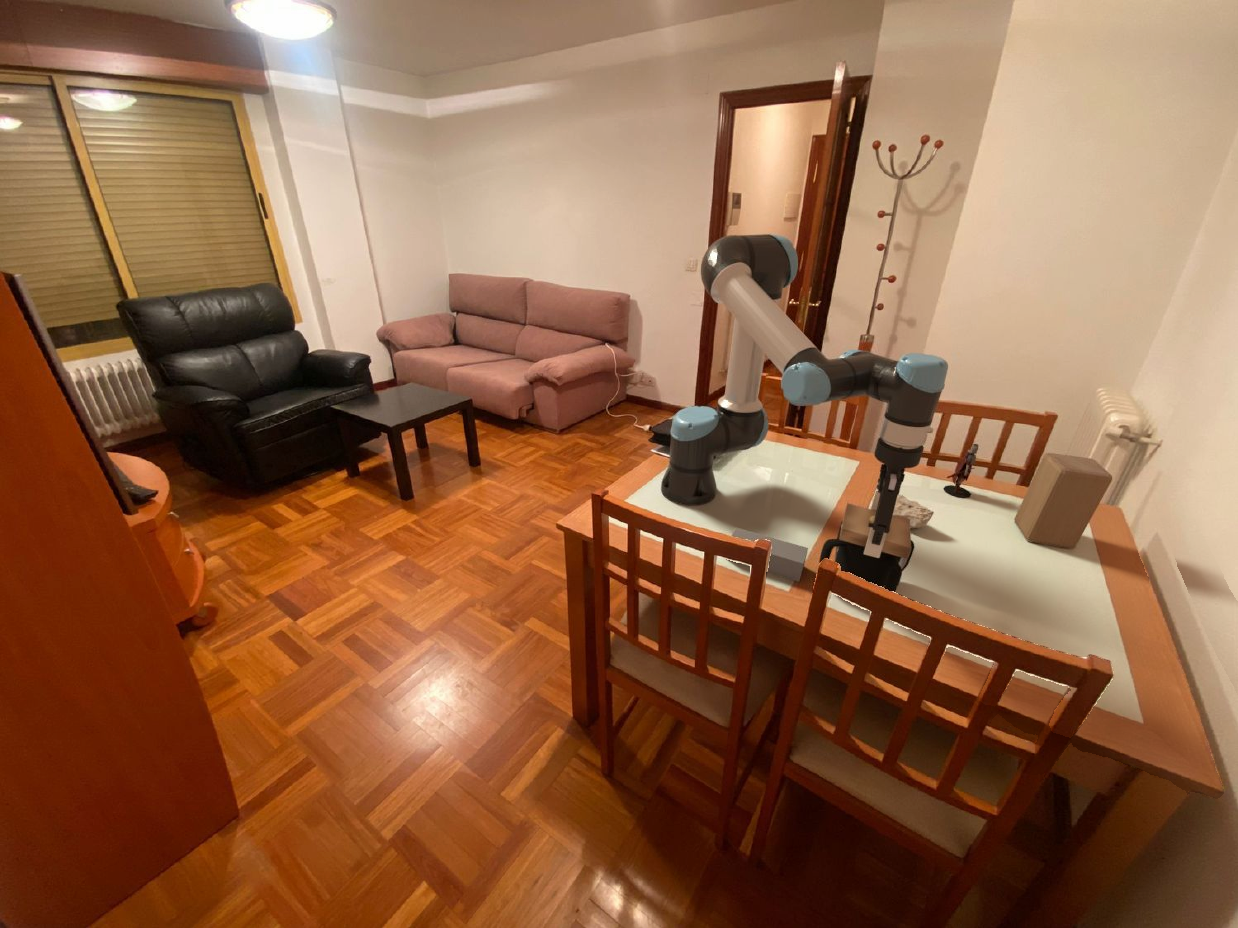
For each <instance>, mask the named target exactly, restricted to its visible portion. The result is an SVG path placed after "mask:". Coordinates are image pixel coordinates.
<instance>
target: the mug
mask: <svg viewBox="0 0 1238 928" xmlns="http://www.w3.org/2000/svg"><path fill="white" fill-rule="evenodd" d="M842 523H843V520H841V523H840V526H839V529H838V533H837V538H836V537H835V538H830V539H827V540H825V542H824V543H823V545H822V548H821V552H820V556H819V561H818V564H819V563H820V562H821V561H822V560H823V559H824V558H828V559H829V560H830V558H831V555H832V551H833V550H834V548H835V555H834V563H835V562H837V563H839V564H840V566H841V571H845V572H850V573H852V574H854V575H856V576H858V577H861V578H863V579H865V580H866V581H868V582H872V583H874V584H877V585H878V586H882V587H883V589H884V588H885V589H888V590H889V591H894V592H895V593H896V591H897V589H898V586H899V584H900V581H901V578H902V575H903V571H904V570H905V569H906V568H907V567H908V565H909V564H910V561H911V558H912V556H913V553H914V550H915V543H914V541H913V540H912V539H911V550H910V553H909V555H908V558H907V559H906V558H902V557H899V556H895V555H892V554H888V553H885V552H881V554H880V557H879V558H876V557H873V556H869V555H865V554H864V550H865V547H864V546H860V545H857V544H853V543H850V542H846V541H843V540H839V538H840V533H841V528H842Z"/></svg>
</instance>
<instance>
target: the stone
mask: <svg viewBox="0 0 1238 928" xmlns="http://www.w3.org/2000/svg"><path fill="white" fill-rule="evenodd" d="M873 499H874V497H873V498H872V500H871V501H872V503H873ZM934 513H935V512H934V510H930V509H929V508H928V507H926V506H923V505H921V504H920V503H919V502H918V501H916V500H910V499H908V498H907V497H906V496H905V495H903V494H900V493H899V494H898V496H897V499H896V504H895V508H894V512H893V515H895V516H899V517H903V518H907V519H910V529H915V528H920V527H922V526H925V525H927V524H928V523H929V521H930V520H931V519H932V517H933V515H934Z"/></svg>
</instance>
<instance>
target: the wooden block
mask: <svg viewBox="0 0 1238 928" xmlns="http://www.w3.org/2000/svg"><path fill="white" fill-rule="evenodd" d="M1112 481H1113V475H1112V474H1110V472H1108V471H1107V470H1106V469H1105V468H1104V467H1103V466H1102V465H1101V464H1100V463H1099V462H1097V460H1095V459H1094V458H1092V457H1083V456H1076V455H1070V454H1069V455H1067V454H1061V453H1054V452H1046V453H1045V454H1044V455H1043V456H1042V458H1041V460H1040V463H1039V465H1038V467H1037V469H1036V471H1035V474H1034V476H1033V478H1032V479H1031V482H1030V484H1029V486H1028V489H1027V490H1026V493H1025V495H1024V497H1023V499H1022V501H1021V503H1020V506H1019V508H1018V510H1017V512H1016V514H1015V516H1014V524H1016V527H1017V528H1018V529H1019V531H1020V533H1021V534H1022V536H1023V537H1024V539H1025V541H1028V542H1032V543H1037V544H1042V545H1047V546H1054V547H1058V548H1065V549H1070V550H1071V549H1075V548H1076V547H1077V545H1078V543H1079V541H1080V539H1082V538H1081V537H1082V536H1083V534H1084V532H1085V530H1086V528H1087V526H1088V524H1090V521H1091V520H1092V517H1093V516H1094V514H1095V512H1096V510H1097V508H1098V507H1099V505H1100V503H1101V501H1102V500H1103V498H1104V496H1105V494H1106V492H1107V490H1108V489H1109V487H1110V485H1111V483H1112Z"/></svg>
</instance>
